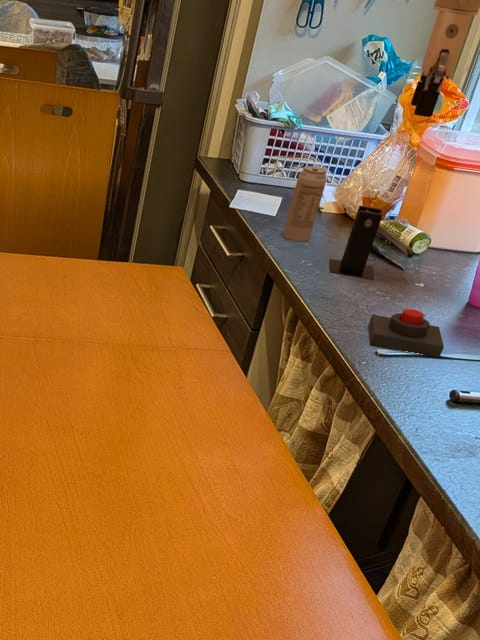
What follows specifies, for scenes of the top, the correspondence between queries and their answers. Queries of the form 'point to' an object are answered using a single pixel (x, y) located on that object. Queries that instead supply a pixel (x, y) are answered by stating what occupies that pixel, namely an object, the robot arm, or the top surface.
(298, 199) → the energy drink can
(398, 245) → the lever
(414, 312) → the button
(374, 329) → the control block
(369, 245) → the bracket
